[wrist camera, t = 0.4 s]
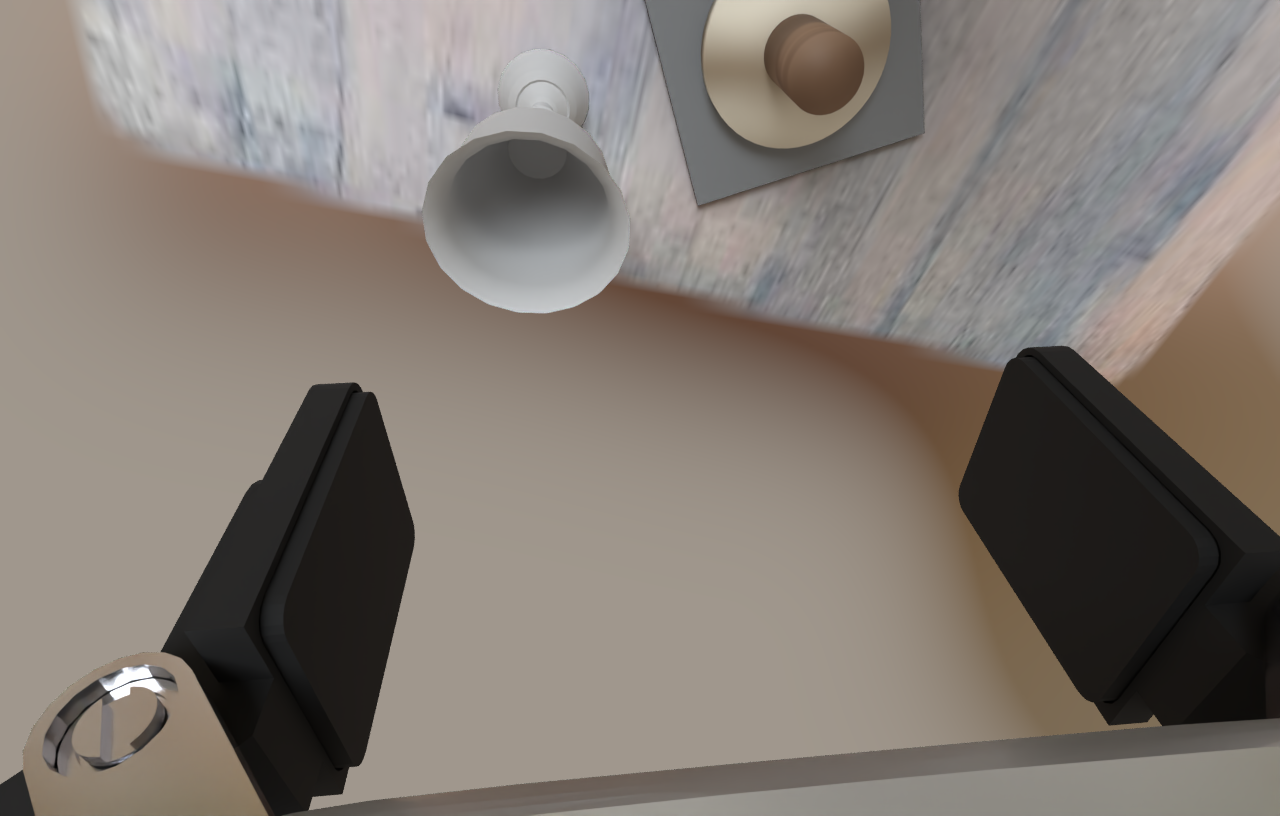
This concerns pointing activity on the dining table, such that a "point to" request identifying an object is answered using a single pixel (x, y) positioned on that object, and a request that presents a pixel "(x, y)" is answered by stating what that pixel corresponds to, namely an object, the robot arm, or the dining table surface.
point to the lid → (793, 65)
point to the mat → (742, 165)
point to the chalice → (529, 197)
